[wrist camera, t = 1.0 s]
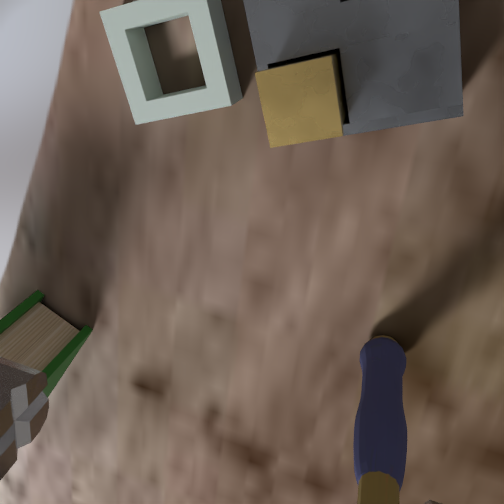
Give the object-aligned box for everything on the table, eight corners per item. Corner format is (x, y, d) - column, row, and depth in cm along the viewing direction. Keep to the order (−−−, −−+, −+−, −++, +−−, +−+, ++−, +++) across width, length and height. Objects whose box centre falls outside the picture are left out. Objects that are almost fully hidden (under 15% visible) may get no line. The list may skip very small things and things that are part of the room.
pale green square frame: (216, -18, 33) (202, -19, 31) (242, 98, 37) (231, 105, 34) (120, 11, 36) (99, 11, 33) (152, 116, 39) (135, 124, 37)
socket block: (442, -147, 27) (451, -174, 23) (454, 101, 33) (463, 115, 29) (247, -81, 31) (223, -94, 27) (287, 130, 37) (273, 147, 33)
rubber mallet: (469, 348, 41) (589, 911, 16) (424, 401, 45) (461, 922, 20) (339, 287, 42) (252, 735, 16) (305, 345, 46) (192, 779, 20)
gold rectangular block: (341, 46, 31) (331, 55, 26) (350, 114, 33) (342, 135, 27) (277, 61, 32) (254, 72, 27) (289, 125, 34) (270, 147, 29)
